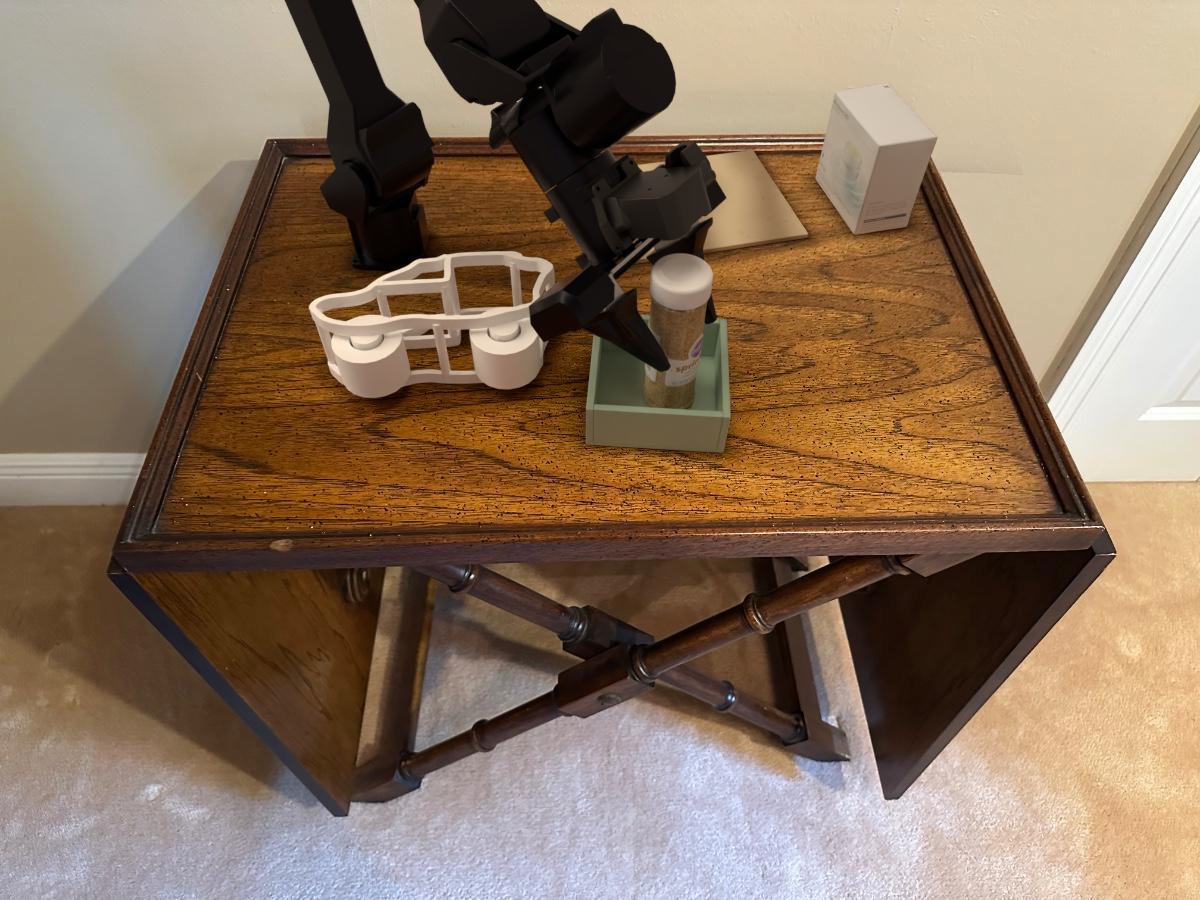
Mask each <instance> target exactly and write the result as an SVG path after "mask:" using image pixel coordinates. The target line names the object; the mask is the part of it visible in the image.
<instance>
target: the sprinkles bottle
mask: <svg viewBox="0 0 1200 900" xmlns="http://www.w3.org/2000/svg"><path fill="white" fill-rule="evenodd" d="M713 281H714V273H713V269H712V267H711V266H710V265H709V263H708V262H707V261H706V260H705V261H704V260H703V259H701V258H699V257H697V256H694V255H690V254H683V253H677V254H670V255H667V256H664V257H662V258H660V259H659V260H658V261H657V262H656V263H655V264H654V265H652V267H651V271H650V278H649V293H650V298H651V299H650V308H649V315H650V317H649V321H648V328H649V329H650V331H651V332H652V334H653V335H654V337H655V338H656V340H657V342H658V343H659V345H660V346H661V348H662V349H663V351H664V353H665V355H666V357H667V359H668V361H669V363H670V365H671V367H670V369H669V370H667V371H664V372H659V371H657V370H656V369H654V368H652V367H651V366H649V365H647V364H646V363H645V370H646V375H645V384H644V387H643V397H644V400H645V402H646V403H647V404H648V405H649V406H650V407H652V408H669V409H687V408H688V407H690V406H691V404H692V403H693V402H694V399H695V383H696V376H697V373H698V368H699V361H700V354H701V347H702V341H703V329H704V321H705V313H706V305H707V301H708V299H709V298H710V295H711V293H712V291H713V290H712V289H713Z"/></svg>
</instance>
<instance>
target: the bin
mask: <svg viewBox="0 0 1200 900" xmlns="http://www.w3.org/2000/svg"><path fill="white" fill-rule="evenodd" d="M640 315H641V317H642V318H643V320H644V321H645V323H646V324H647V326H648V321H649V317H650V314H640ZM727 320H728V319H726V318H717V320H716V321H715V322H714V323H711V324H705V323H704V329H703V341H702V347H701V354H700V361H699V368H698V373H697V376H696V383H695V399H694V402H693V403H692V404H691V406H690V407H688V408H687V409H669V408H652V407H650V406H649V405H648V404H647V403H646V402H645V400H644V397H643V387H644V384H645V375H646V370H645V363H644V362H643V361H641V360H639V359H638V358H636V357H634V356H633V355H631V354H629V353H628V352H626V351H624V350H623V349H621V348H619V347H618V346H616V345H614V344H612V343H610V342H608V341H606V340H604V339H602V338H600V337H598V336H596V335H594V334H593V336H592V337H593V338H592V346H591V347H592V349H591V355H590V356H591V358H590V365H589V366H590V367H589V378H588V385H587V386H588V387H587V396H586V406H585V445H586V446H601V447H603V446H604V447H620V448H635V449H651V450H671V451H683V452H685V451H687V452H701V453H702V452H703V453H719V454H720V453H721V454H724V453H725V448H726V443H727V437H728V433H729V427H730V424H731V419H732V413H731V411H732V410H731V391H730V390H731V389H730V365H729V341H728V340H729V339H728V321H727Z"/></svg>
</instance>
